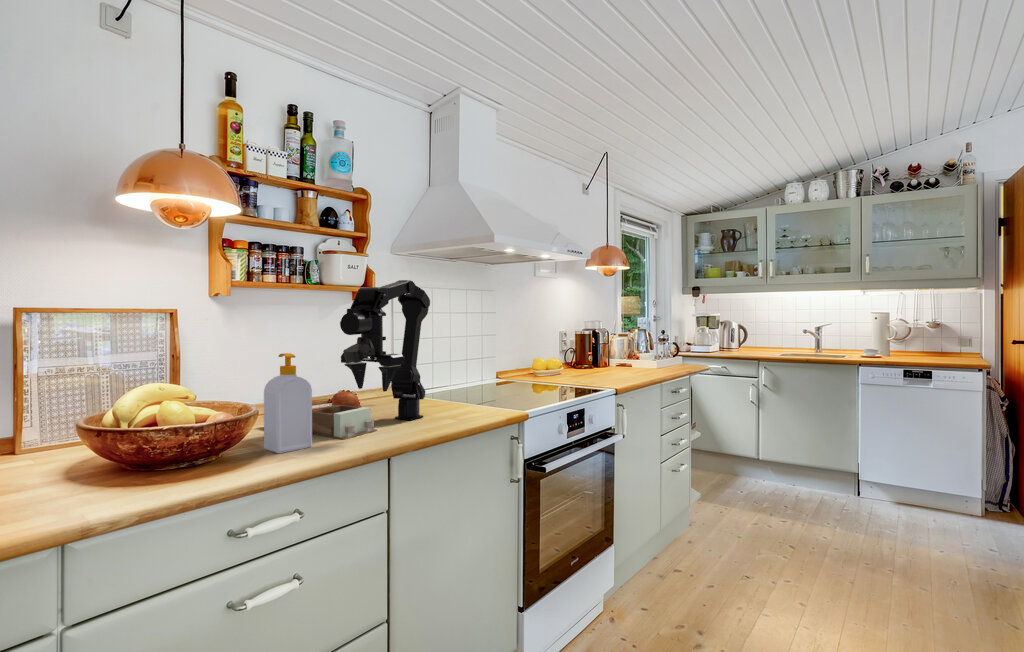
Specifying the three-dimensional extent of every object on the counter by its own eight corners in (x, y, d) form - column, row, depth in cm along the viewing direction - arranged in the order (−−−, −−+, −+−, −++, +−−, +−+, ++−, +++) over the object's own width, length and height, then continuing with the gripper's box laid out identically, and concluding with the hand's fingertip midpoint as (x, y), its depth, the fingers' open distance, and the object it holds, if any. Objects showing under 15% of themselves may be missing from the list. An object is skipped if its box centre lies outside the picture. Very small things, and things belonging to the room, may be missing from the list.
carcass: (340, 425, 154) (340, 404, 154) (377, 430, 148) (377, 409, 148) (307, 433, 144) (307, 411, 144) (344, 439, 137) (344, 416, 137)
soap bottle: (297, 442, 134) (297, 351, 133) (312, 446, 130) (312, 353, 129) (262, 449, 127) (261, 353, 126) (276, 454, 123) (276, 355, 122)
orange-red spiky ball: (332, 414, 170) (331, 390, 170) (359, 413, 172) (359, 389, 172) (330, 419, 162) (330, 393, 162) (359, 418, 165) (359, 392, 164)
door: (364, 428, 149) (364, 407, 149) (370, 429, 148) (370, 407, 148) (333, 436, 140) (333, 413, 139) (340, 437, 138) (340, 414, 138)
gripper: (324, 333, 142) (325, 391, 143) (375, 335, 133) (376, 397, 134) (355, 331, 152) (356, 385, 153) (405, 333, 143) (406, 391, 143)
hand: (372, 389), depth 145 cm, fingers open, 9 cm apart
